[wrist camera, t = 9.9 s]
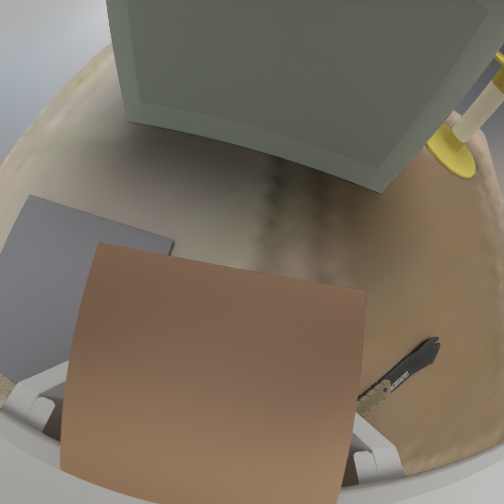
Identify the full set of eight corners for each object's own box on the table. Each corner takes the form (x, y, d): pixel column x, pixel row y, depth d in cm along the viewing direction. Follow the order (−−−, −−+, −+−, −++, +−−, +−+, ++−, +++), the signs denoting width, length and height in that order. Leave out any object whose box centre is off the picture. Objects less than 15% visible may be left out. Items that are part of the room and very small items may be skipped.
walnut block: (250, 428, 13) (327, 533, 3) (156, 411, 13) (60, 492, 3) (263, 339, 15) (365, 290, 5) (171, 323, 15) (99, 241, 5)
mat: (114, 436, 14) (111, 438, 14) (-25, 349, 14) (-29, 348, 13) (174, 243, 20) (173, 239, 19) (32, 198, 19) (29, 194, 19)
